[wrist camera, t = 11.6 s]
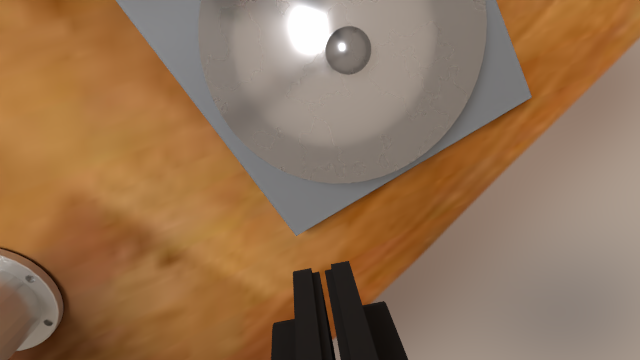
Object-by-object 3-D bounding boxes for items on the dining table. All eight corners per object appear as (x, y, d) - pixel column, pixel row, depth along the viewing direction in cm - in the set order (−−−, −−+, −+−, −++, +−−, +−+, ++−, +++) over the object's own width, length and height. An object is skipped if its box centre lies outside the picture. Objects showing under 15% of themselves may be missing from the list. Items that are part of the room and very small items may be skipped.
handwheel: (512, 86, 28) (578, 99, 22) (307, 216, 31) (311, 262, 25) (392, -194, 21) (436, -297, 15) (144, 7, 24) (90, -6, 18)
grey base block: (296, 223, 35) (296, 241, 32) (125, -4, 27) (102, -10, 24) (514, 93, 32) (539, 98, 29) (396, -211, 24) (412, -250, 21)
